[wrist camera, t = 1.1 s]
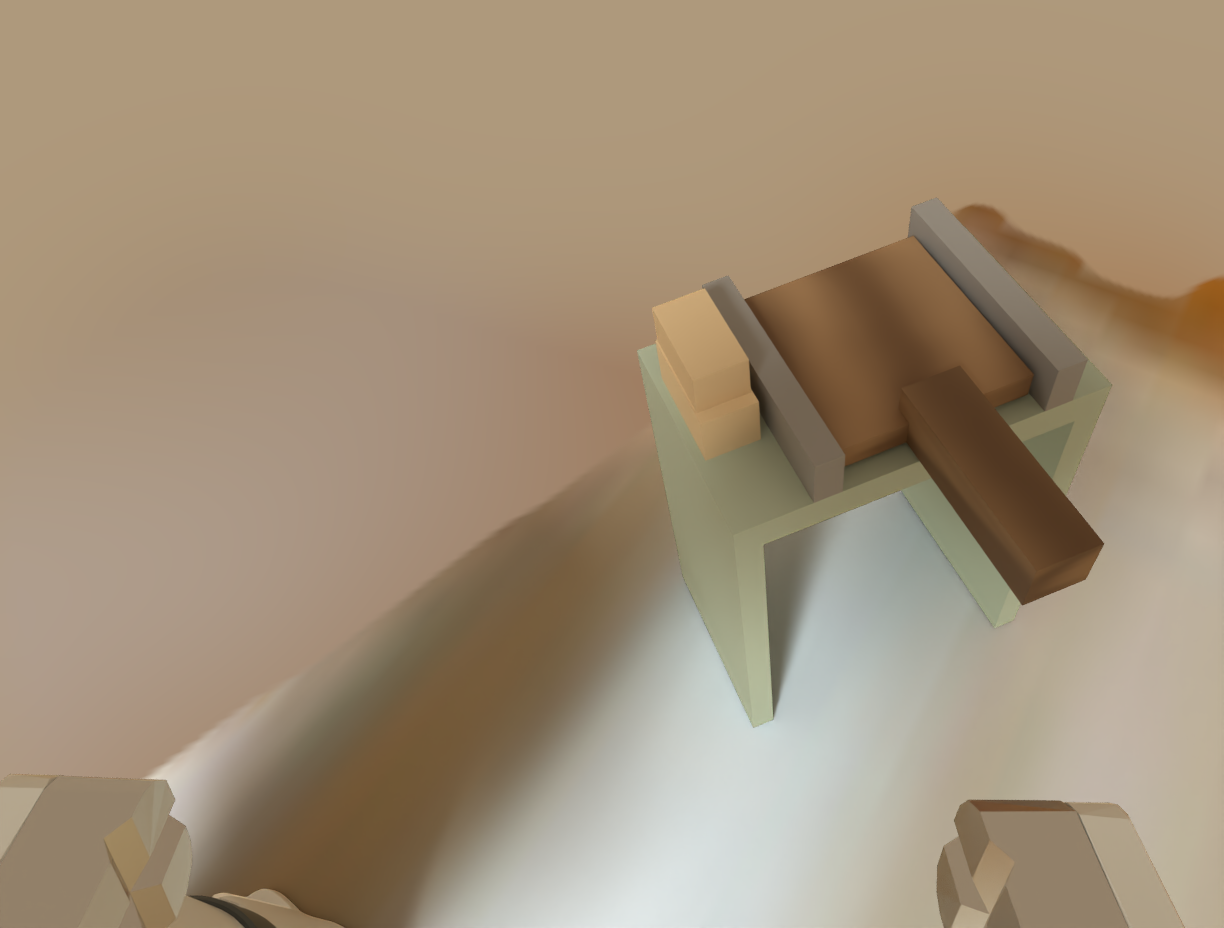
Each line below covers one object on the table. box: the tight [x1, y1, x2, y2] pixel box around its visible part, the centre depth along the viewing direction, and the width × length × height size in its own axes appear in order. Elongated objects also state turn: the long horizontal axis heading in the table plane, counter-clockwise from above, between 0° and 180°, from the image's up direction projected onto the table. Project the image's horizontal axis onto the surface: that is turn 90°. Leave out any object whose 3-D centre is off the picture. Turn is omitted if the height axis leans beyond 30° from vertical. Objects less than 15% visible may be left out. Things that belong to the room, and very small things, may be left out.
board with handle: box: [744, 236, 1104, 605], centre depth 45 cm, size 10×20×3 cm, turn 20°
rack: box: [637, 198, 1112, 728], centre depth 57 cm, size 20×13×31 cm, turn 110°
